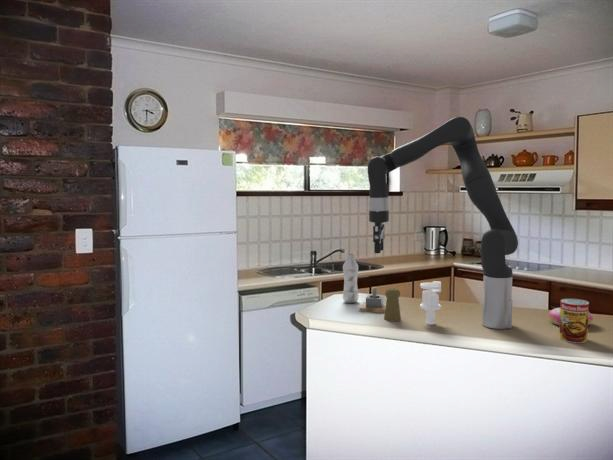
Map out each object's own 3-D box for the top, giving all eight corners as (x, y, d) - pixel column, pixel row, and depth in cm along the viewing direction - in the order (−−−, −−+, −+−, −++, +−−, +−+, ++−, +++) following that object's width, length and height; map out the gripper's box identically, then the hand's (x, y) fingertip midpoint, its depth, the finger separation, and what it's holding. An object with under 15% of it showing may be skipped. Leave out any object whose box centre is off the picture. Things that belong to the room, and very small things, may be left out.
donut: (591, 321, 186) (592, 307, 186) (593, 331, 174) (593, 316, 174) (549, 317, 192) (549, 304, 192) (548, 327, 180) (548, 312, 180)
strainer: (439, 327, 180) (440, 283, 179) (418, 325, 183) (418, 282, 181) (441, 321, 187) (442, 279, 185) (421, 320, 189) (421, 278, 188)
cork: (400, 321, 188) (401, 290, 187) (383, 320, 189) (383, 290, 188) (401, 317, 194) (401, 287, 193) (384, 316, 195) (384, 286, 194)
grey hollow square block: (368, 303, 210) (368, 294, 210) (383, 304, 208) (383, 295, 208) (365, 307, 204) (365, 298, 204) (381, 307, 203) (381, 298, 202)
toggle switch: (388, 306, 210) (389, 286, 209) (385, 312, 200) (385, 291, 199) (363, 305, 212) (363, 284, 212) (359, 311, 203) (359, 289, 202)
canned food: (560, 341, 164) (561, 303, 162) (558, 334, 171) (559, 297, 170) (588, 344, 161) (590, 305, 160) (585, 336, 168) (587, 299, 167)
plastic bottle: (361, 301, 218) (361, 253, 216) (353, 305, 212) (353, 255, 210) (347, 300, 222) (347, 252, 220) (339, 303, 216) (339, 254, 214)
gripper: (371, 208, 210) (372, 249, 212) (366, 210, 196) (366, 254, 198) (390, 208, 208) (390, 249, 210) (386, 210, 195) (386, 254, 196)
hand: (379, 251), depth 204 cm, fingers open, 8 cm apart
